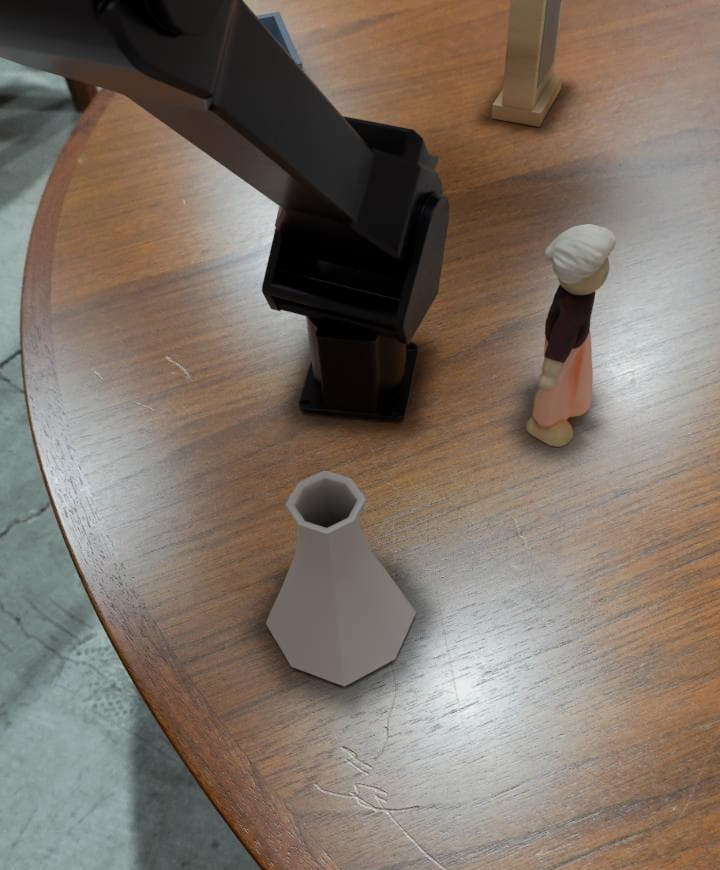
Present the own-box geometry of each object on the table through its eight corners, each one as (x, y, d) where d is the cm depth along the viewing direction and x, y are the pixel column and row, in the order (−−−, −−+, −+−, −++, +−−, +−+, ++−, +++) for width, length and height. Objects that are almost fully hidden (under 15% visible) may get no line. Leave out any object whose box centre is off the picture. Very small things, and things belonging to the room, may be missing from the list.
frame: (539, 127, 71) (559, -40, 61) (491, 118, 72) (503, -48, 62) (560, 89, 74) (583, -76, 64) (514, 81, 75) (529, -82, 65)
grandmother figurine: (587, 463, 51) (631, 281, 40) (519, 457, 51) (545, 276, 41) (589, 368, 55) (629, 182, 45) (526, 363, 56) (551, 179, 45)
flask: (441, 613, 46) (447, 491, 37) (345, 713, 43) (329, 604, 34) (337, 539, 49) (321, 411, 40) (241, 628, 46) (204, 509, 37)
